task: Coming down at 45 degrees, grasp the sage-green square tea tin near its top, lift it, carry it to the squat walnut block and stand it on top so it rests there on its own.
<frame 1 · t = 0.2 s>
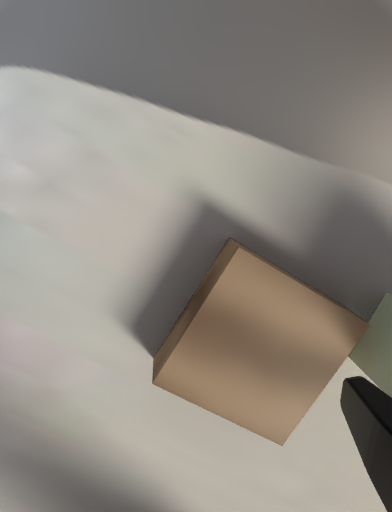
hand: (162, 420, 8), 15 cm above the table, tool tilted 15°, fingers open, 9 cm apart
walnut block: (249, 330, 26), on the table
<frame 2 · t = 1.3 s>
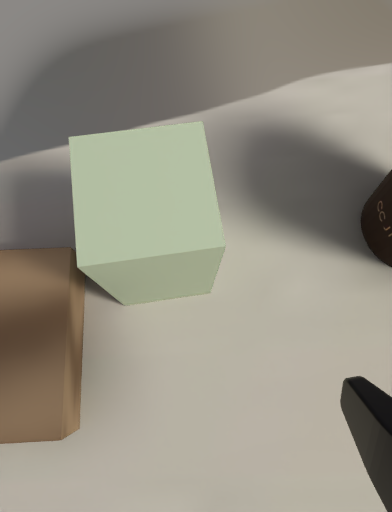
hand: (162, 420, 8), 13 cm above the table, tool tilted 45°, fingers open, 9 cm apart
walnut block: (3, 344, 22), on the table
tea tin: (162, 258, 23), on the table
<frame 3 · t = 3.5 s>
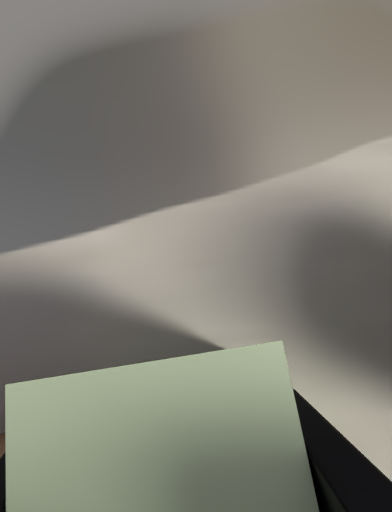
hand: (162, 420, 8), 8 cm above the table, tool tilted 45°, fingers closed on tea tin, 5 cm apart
tea tin: (179, 423, 16), on the table, touching gripper
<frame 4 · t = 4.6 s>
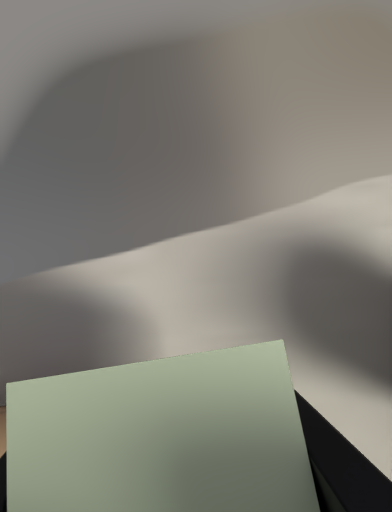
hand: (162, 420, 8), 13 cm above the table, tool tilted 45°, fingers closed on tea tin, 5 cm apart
walnut block: (16, 501, 20), on the table
tea tin: (179, 423, 16), point 5 cm above the table, touching gripper
when the fingers open (12 cm above the table, at t = 5.9 s): tea tin drops 1 cm, resting on walnut block.
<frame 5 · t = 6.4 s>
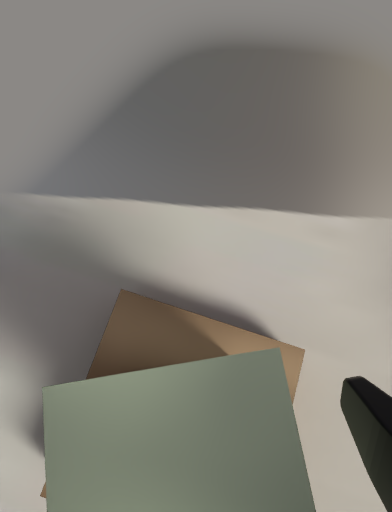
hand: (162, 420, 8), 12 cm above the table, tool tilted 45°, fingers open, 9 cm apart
walnut block: (181, 408, 20), on the table, touching tea tin
tea tin: (183, 423, 17), point 3 cm above the table, touching walnut block
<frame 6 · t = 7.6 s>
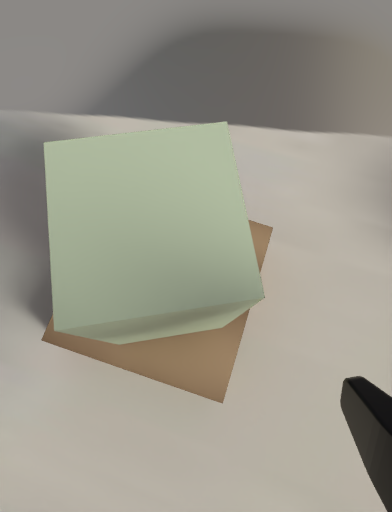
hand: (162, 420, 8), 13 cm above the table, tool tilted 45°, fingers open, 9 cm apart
walnut block: (166, 291, 23), on the table
tea tin: (164, 285, 20), point 3 cm above the table
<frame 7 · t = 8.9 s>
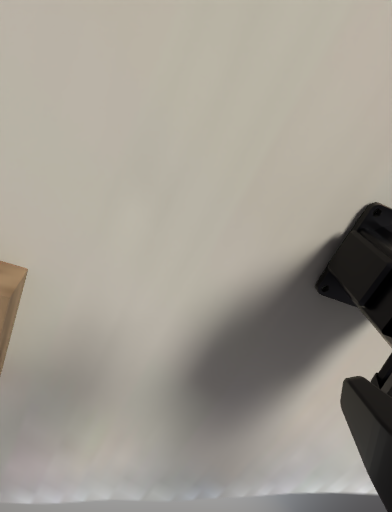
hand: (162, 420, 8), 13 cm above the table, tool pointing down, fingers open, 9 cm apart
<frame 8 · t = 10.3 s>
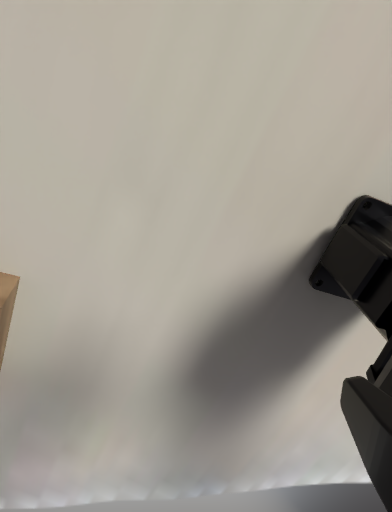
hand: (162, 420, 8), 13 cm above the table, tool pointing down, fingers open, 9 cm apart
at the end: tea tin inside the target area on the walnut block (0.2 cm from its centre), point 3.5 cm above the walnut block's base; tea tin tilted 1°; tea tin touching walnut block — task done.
